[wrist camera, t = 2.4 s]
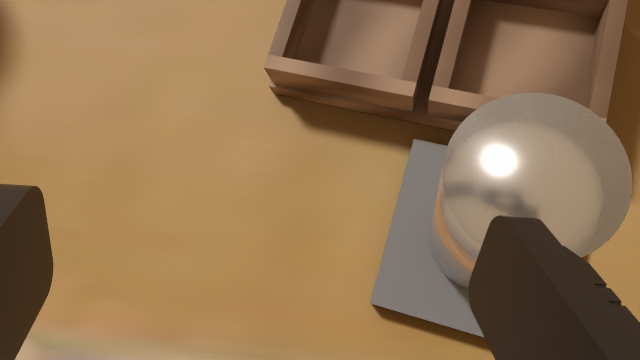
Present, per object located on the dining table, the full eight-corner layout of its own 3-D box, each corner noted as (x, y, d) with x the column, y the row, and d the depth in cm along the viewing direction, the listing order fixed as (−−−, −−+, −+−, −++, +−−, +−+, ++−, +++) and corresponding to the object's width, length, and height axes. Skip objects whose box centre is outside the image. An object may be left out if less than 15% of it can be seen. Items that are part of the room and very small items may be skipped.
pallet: (273, 93, 31) (259, 70, 28) (314, -29, 33) (304, -63, 30) (587, 158, 27) (608, 138, 24) (614, 14, 28) (636, -20, 26)
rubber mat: (371, 303, 27) (370, 303, 26) (413, 143, 29) (413, 138, 28) (554, 358, 25) (559, 359, 24) (587, 181, 26) (592, 176, 26)
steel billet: (446, 302, 25) (474, 285, 14) (417, 206, 27) (420, 119, 15) (548, 277, 25) (664, 238, 13) (513, 180, 26) (590, 71, 15)
